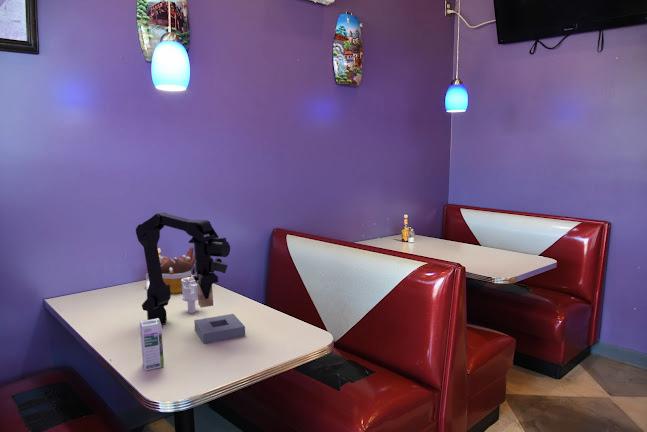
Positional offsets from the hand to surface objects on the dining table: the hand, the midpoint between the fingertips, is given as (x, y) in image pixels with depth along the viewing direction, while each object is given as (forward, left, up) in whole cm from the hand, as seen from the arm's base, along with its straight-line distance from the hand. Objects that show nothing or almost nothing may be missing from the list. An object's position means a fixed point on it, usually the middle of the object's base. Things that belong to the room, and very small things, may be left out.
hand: (205, 296), depth 176 cm
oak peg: (0, 0, -3) cm, 3 cm away
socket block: (+4, -2, -14) cm, 14 cm away
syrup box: (-21, -19, -14) cm, 32 cm away
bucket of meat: (0, +59, -14) cm, 60 cm away
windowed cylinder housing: (0, +26, -14) cm, 29 cm away
